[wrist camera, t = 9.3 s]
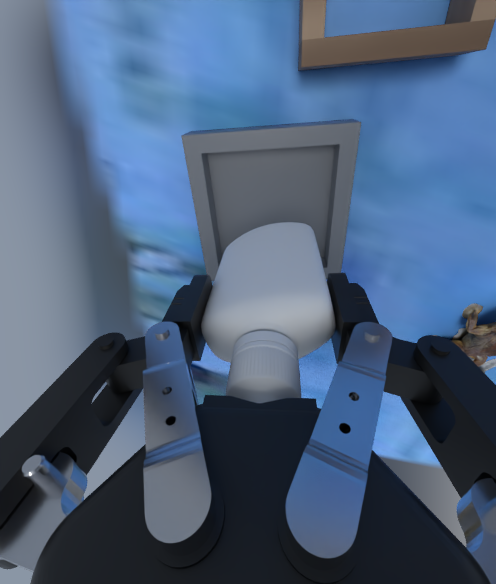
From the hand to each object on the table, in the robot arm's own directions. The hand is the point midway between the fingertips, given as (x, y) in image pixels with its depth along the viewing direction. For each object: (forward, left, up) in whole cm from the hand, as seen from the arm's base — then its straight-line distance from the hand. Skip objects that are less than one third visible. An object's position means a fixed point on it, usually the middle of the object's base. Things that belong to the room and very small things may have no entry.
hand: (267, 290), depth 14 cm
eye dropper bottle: (0, 0, -5) cm, 5 cm away
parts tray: (0, 0, -13) cm, 13 cm away
